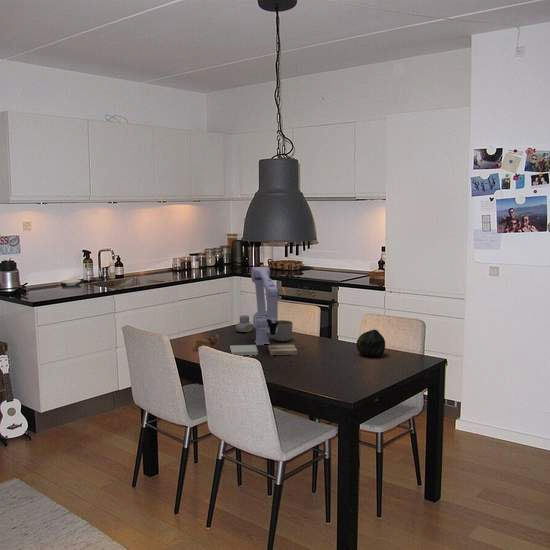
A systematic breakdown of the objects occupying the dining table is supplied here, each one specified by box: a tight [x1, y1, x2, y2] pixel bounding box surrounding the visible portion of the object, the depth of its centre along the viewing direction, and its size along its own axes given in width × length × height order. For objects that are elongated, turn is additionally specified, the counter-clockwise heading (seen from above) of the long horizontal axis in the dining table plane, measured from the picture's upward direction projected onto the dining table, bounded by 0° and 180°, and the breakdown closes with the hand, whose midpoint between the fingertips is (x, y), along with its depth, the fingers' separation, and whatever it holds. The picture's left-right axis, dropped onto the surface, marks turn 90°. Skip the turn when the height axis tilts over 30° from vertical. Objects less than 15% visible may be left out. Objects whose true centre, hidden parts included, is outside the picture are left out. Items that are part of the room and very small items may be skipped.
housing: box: [266, 326, 278, 338], centre depth 326 cm, size 4×6×5 cm
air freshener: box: [235, 314, 254, 333], centre depth 375 cm, size 11×8×10 cm
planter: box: [272, 319, 293, 342], centre depth 353 cm, size 12×12×11 cm
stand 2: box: [267, 343, 298, 357], centre depth 328 cm, size 14×14×2 cm
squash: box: [356, 329, 386, 357], centre depth 321 cm, size 14×15×15 cm
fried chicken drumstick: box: [192, 334, 220, 351], centre depth 330 cm, size 15×5×9 cm, turn 98°
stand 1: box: [229, 344, 259, 357], centre depth 326 cm, size 14×14×2 cm
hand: (272, 333), depth 326 cm, fingers closed on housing, 4 cm apart
